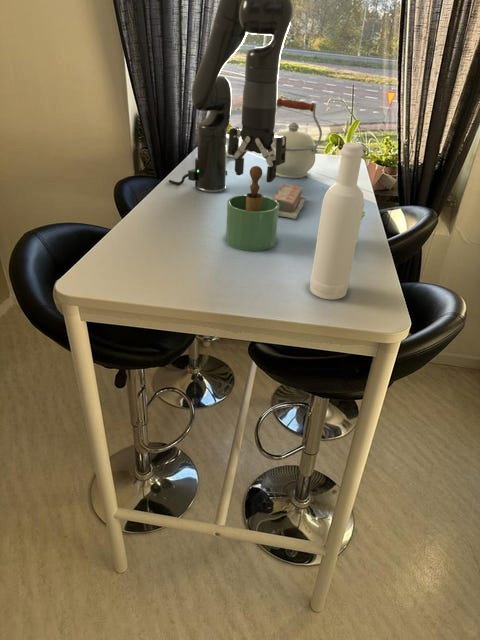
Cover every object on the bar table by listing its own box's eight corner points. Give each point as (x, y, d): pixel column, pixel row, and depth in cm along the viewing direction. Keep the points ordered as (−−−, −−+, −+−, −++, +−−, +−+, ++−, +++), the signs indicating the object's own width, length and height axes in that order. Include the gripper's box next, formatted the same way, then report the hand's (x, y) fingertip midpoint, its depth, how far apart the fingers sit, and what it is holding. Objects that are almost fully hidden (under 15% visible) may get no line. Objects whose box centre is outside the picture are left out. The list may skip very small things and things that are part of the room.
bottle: (353, 298, 96) (385, 149, 79) (318, 302, 94) (344, 150, 77) (336, 280, 102) (362, 139, 86) (303, 283, 100) (323, 139, 84)
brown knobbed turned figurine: (246, 244, 114) (250, 171, 104) (234, 234, 119) (237, 164, 109) (268, 240, 117) (275, 169, 107) (256, 231, 122) (261, 162, 112)
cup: (216, 242, 116) (217, 203, 111) (243, 227, 126) (245, 191, 120) (259, 255, 111) (262, 216, 105) (284, 239, 120) (288, 202, 115)
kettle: (325, 173, 175) (335, 102, 161) (304, 184, 162) (313, 107, 148) (268, 161, 186) (273, 93, 172) (244, 171, 172) (248, 98, 159)
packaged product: (277, 181, 146) (308, 186, 144) (276, 196, 149) (306, 201, 147) (263, 198, 132) (297, 203, 129) (262, 214, 134) (295, 220, 132)
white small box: (223, 156, 188) (224, 137, 184) (226, 152, 193) (227, 134, 189) (238, 157, 188) (239, 138, 184) (240, 154, 193) (241, 135, 189)
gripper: (296, 106, 100) (287, 180, 109) (241, 98, 106) (238, 169, 115) (279, 110, 95) (272, 188, 104) (223, 101, 101) (221, 175, 110)
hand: (254, 178), depth 109 cm, fingers open, 8 cm apart
